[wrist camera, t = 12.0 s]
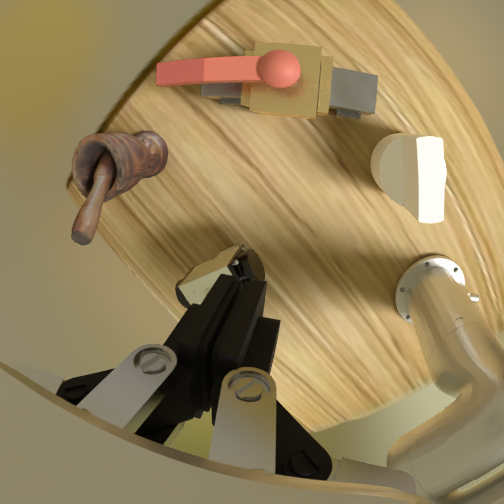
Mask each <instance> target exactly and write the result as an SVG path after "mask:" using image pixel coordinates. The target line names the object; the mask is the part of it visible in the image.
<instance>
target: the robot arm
mask: <svg viewBox="0 0 504 504" xmlns="http://www.w3.org/2000/svg"><path fill="white" fill-rule="evenodd" d="M266 286H267V282H266V281H261V280H255V279H251V281H250V283H249V282H245V283H244V285H243V287H242V289H241V281H238V280H237V278H236V276H232V275H227V274H220V275H219V277H218V278H217V280H216V282H215V283H214V285H213V286H212V288H211V289H210V291H209V292H208V294H207V295H206V297H205V298H204V300H203V301H202V303H201V304H195V303H193V304H191V306H190V307H189V308H188V310H187V311H186V313H185V314H184V315H183V317H182V318H181V320H180V321H179V323H178V324H177V326H176V327H175V329H174V330H173V331H172V333H171V334H170V336H169V337H168V339H167V340H166V342H165V343H164V344H163V345H160V344H148V345H143V346H141V347H138V348H137V349H136V350H134V351H133V352H132V353H131V354H130V355H129V356H128V357H127V358H126V359H124V361H122V362H121V363H120V364H119V365H118V366H117V367H116V368H114V369H110V370H106V371H102V372H98V373H93V374H89V375H85V376H80V377H75V378H72V379H69V380H67V381H66V380H65V378H64V377H61V376H57V375H54V374H50V373H47V372H44V371H40V370H37V369H34V368H30V367H27V366H23V365H20V366H15V367H13V368H12V367H10V366H8V365H7V364H5V363H3V362H0V504H504V467H503V468H501V469H500V470H498V471H496V472H495V473H493V474H491V475H490V476H488V477H486V478H485V479H483V480H481V481H479V482H477V483H476V484H474V485H472V486H470V487H468V488H466V489H464V490H458V488H459V487H461V486H463V485H465V484H467V483H469V482H471V481H473V480H476V479H477V478H479V477H481V476H483V475H485V474H486V473H488V472H489V471H491V470H493V469H494V468H496V467H497V466H499V465H501V464H502V463H504V348H503V347H502V345H501V344H500V342H499V341H498V339H497V337H496V336H495V334H494V332H493V331H492V329H491V328H490V326H489V325H488V323H487V322H486V320H485V319H484V317H483V316H482V314H481V313H480V311H479V309H478V307H477V306H476V305H475V304H474V302H475V303H476V302H477V301H478V299H479V296H478V295H477V294H472V293H471V294H470V293H469V292H468V291H467V289H466V288H465V278H464V275H463V272H462V270H461V268H460V267H459V266H458V264H457V263H456V262H455V261H453V260H452V259H450V258H448V257H446V256H441V255H433V256H428V257H425V258H423V259H420V260H418V261H417V262H415V263H414V264H412V265H411V266H410V267H409V268H408V269H407V270H406V271H405V272H404V274H403V275H402V277H401V278H400V280H399V282H398V285H397V287H396V292H395V303H396V307H397V309H398V312H399V314H400V315H401V317H402V318H403V319H404V320H405V321H407V322H409V323H410V324H413V325H414V328H415V331H416V333H417V336H418V339H419V342H420V345H421V348H422V351H423V353H424V356H425V360H426V363H427V366H428V369H429V372H430V375H431V378H432V380H433V382H434V384H435V385H436V387H437V388H438V389H439V390H440V391H442V392H443V393H445V394H446V395H449V396H451V397H454V398H457V399H456V400H455V401H454V402H453V403H451V404H450V405H449V406H447V407H446V408H445V409H444V410H443V411H441V412H440V413H438V414H437V415H435V416H434V417H432V418H430V419H429V420H427V421H426V422H424V423H422V424H421V425H419V426H418V427H416V428H414V429H413V430H411V431H409V432H408V433H406V434H405V435H403V436H401V437H400V438H399V439H398V440H397V441H396V442H395V443H394V444H393V445H392V446H391V448H390V450H389V452H388V455H387V468H386V467H381V466H376V465H372V464H368V463H364V462H360V461H356V460H351V459H348V458H344V457H343V458H342V459H341V460H340V459H337V458H333V457H330V456H329V454H328V453H327V451H326V450H325V449H324V448H323V447H322V446H321V445H320V444H319V443H318V442H317V441H316V440H315V439H314V438H313V437H312V436H311V435H310V434H309V433H308V432H307V431H306V430H305V429H304V428H303V427H302V426H301V425H300V424H299V423H298V422H297V421H296V420H295V419H294V418H293V417H292V416H291V415H290V413H289V412H288V411H287V410H286V409H285V408H284V407H283V406H282V405H281V404H280V403H279V402H278V401H277V399H276V384H275V381H274V380H273V378H272V376H270V371H271V367H272V363H273V358H274V354H275V349H276V344H277V339H278V333H279V327H280V320H276V319H271V318H265V317H263V310H264V302H265V294H266ZM211 406H212V424H213V426H214V431H213V436H212V442H211V447H210V454H209V459H205V458H202V457H198V456H195V455H192V454H188V453H185V452H181V451H179V450H176V449H173V448H170V446H171V444H172V443H173V442H174V440H175V439H176V437H177V436H178V435H179V433H180V432H181V430H182V429H183V427H184V424H185V421H187V420H190V419H193V417H196V418H199V419H200V418H201V416H202V413H203V411H206V412H209V410H210V408H211Z"/></svg>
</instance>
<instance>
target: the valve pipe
mask: <svg viewBox="0 0 504 504" xmlns="http://www.w3.org/2000/svg"><path fill="white" fill-rule="evenodd" d="M273 50H286V51H288V52H290V53H292V54H293V55H294V56H295V57H296V58H297V60H298V62H299V65H300V68H301V75H300V78H299V80H298V82H297V83H296V84H295V85H293V86H292V87H290V88H287V89H277V88H274V87H272V86H270V85H269V84H267V83H262V82H229V83H207V84H202V86H201V96H203V97H207V98H211V99H220V104H222V105H233V106H247V107H250V108H249V111H253V112H257V113H261V114H265V115H276V116H286V117H295V118H303V119H311V120H316V115H322V116H327V115H328V112H329V109H336V114H335V116H339V117H345V118H351V119H356V120H358V119H360V115H361V114H364V115H371V114H375V105H376V94H377V81H378V76H377V75H373V74H368V73H363V72H358V71H352V70H346V69H340V68H334V67H333V57H328V56H322V64H321V52H322V47H316V46H307V45H296V44H283V43H262V42H255V50H245V56H264V55H265V54H267V53H268V52H270V51H273ZM317 107H318V110H317Z"/></svg>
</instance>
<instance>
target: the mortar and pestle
mask: <svg viewBox="0 0 504 504" xmlns="http://www.w3.org/2000/svg"><path fill="white" fill-rule="evenodd" d="M167 157H168V149H167V145H166V143H165V141H164V140H163V139H162V138H161V137H160V136H159V135H158V134H156V133H155V132H152V131H143V132H141V133H139V134H137V135H135V136H133V135H130V134H128V133H124V132H107V133H99V134H92V135H89V136H87V137H85V138H84V139H83V140H82V141H80V143H79V145H78V147H77V148H76V150H75V153H74V156H73V160H72V173H73V178H74V181H75V184H76V186H77V188H78V190H79V191H80V192H81V193H82V195H83V196H85V197H86V198H87V199H86V200H85V202H84V204H83V205H82V207H81V209H80V211H79V212H78V214H77V216H76V219H75V221H74V224H73V227H72V235H71V237H72V239H73V240H74V242H76V243H78V244H80V245H86V244H89V243H90V242H91V241H92V239H93V237H94V234H95V231H96V229H97V225H98V221H99V218H100V213H101V208H102V204H103V202H106V201H108V200H110V199H112V198H114V197H116V196H118V195H120V194H122V193H124V192H126V191H128V190H130V189H131V188H133V187H134V186H135V185H136V184H137V183H138V182H139V181H140V180H141V179H142V178H149V177H152V176H155V175H157V174H159V173H160V172H161V171H162V170H163V169H164V167H165V165H166V163H167Z"/></svg>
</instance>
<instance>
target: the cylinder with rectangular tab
mask: <svg viewBox="0 0 504 504" xmlns="http://www.w3.org/2000/svg"><path fill="white" fill-rule="evenodd" d="M371 171H372V176H373V178H374V180H375V182H376V183H377V185H378V186H379V187H380V188H381V189H382V190H383V191H384V192H385V193H386V194H387V195H388V196H389V197H390V198H391V199H392V200H393V201H394V202H396V203H397V204H399V205H401V206H404V207H405V208H406V209H407V210H408V211H409V212H410V213H411V214H412V215H413V216H414V217H415V218H416V219H417V220H418V221H419V222H421V223H437V222H441V221H443V218H444V184H445V181H446V164H445V160H444V152H443V139H441V138H438V137H433V136H425V135H415V134H404V133H396V134H391V135H388V136H386V137H384V138H383V139H382V140H381V141H380V142H378V144H377V145H376V147H375V148H374V150H373V153H372V156H371Z"/></svg>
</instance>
